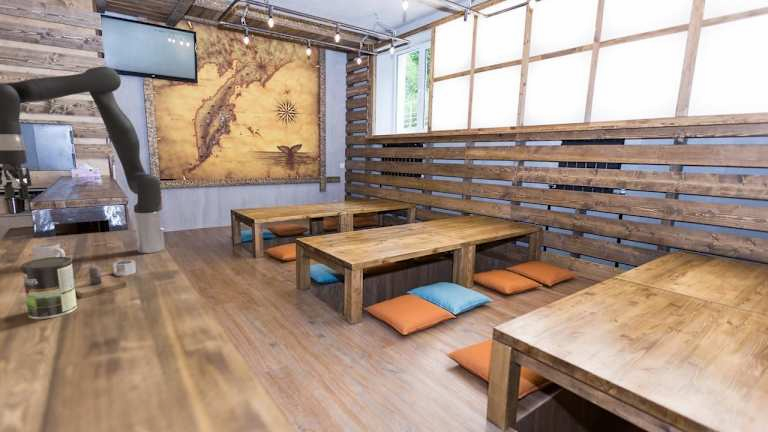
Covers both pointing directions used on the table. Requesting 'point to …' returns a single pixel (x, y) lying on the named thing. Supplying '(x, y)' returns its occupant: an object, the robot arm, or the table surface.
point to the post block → (97, 284)
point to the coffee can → (49, 287)
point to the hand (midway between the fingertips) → (17, 198)
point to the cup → (47, 250)
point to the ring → (124, 267)
